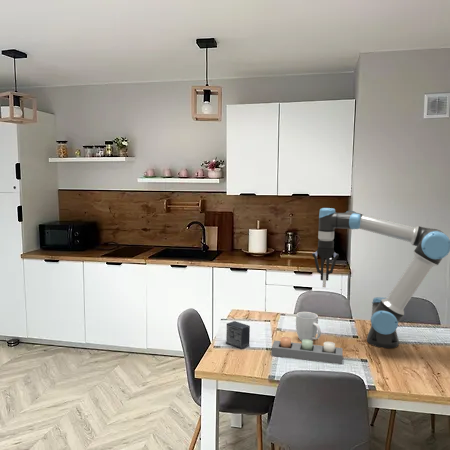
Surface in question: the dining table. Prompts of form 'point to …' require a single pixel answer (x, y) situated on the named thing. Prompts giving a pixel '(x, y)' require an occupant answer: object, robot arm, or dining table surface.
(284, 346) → the key terracotta
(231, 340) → the small box
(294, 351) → the grey long block
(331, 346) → the key ivory
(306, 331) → the mug
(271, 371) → the dining table surface
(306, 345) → the key sage
